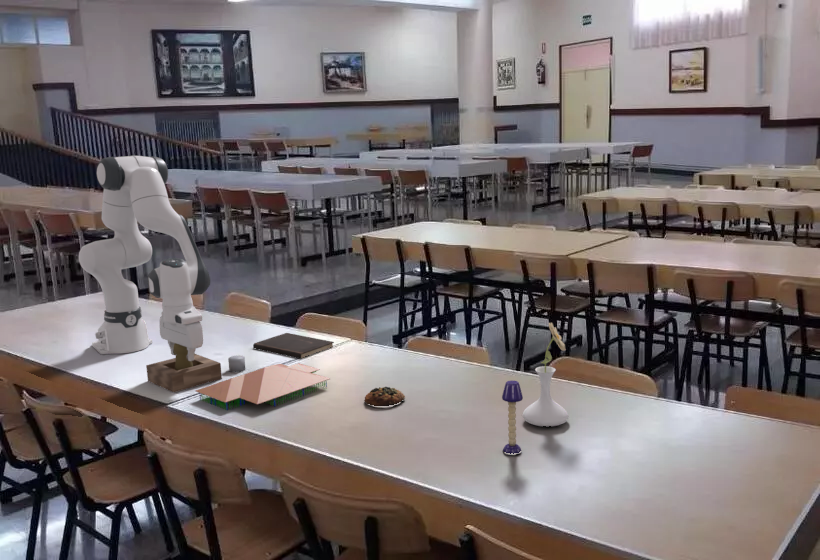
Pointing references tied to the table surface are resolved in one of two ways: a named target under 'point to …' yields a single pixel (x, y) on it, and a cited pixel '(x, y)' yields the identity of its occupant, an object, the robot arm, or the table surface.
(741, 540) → the table surface
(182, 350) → the cork
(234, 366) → the short stub
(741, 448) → the table surface
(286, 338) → the hardcover book
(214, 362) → the box
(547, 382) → the flower in vase
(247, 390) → the house
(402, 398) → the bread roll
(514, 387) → the toy lamp
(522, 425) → the table surface
